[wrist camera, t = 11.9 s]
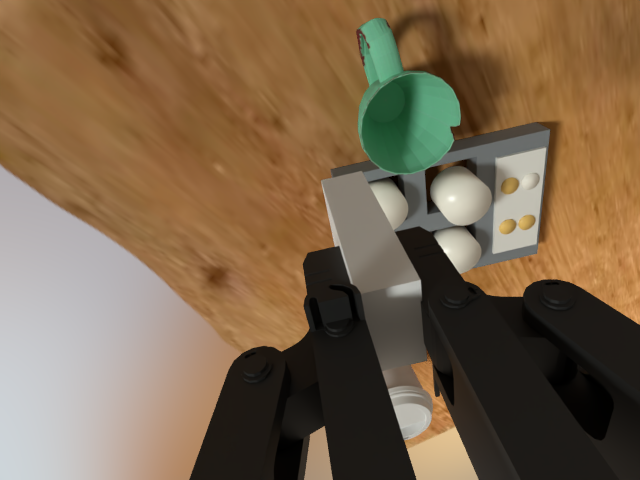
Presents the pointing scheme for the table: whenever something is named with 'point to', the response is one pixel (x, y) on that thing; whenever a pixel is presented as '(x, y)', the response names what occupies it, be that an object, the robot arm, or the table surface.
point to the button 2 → (390, 200)
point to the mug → (402, 107)
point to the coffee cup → (408, 400)
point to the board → (501, 178)
